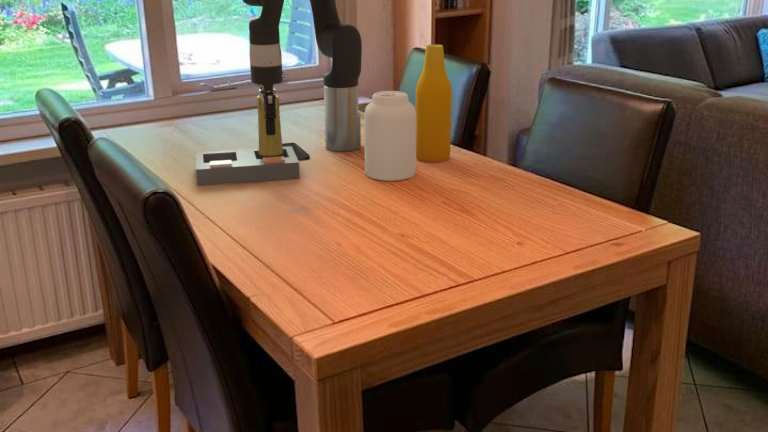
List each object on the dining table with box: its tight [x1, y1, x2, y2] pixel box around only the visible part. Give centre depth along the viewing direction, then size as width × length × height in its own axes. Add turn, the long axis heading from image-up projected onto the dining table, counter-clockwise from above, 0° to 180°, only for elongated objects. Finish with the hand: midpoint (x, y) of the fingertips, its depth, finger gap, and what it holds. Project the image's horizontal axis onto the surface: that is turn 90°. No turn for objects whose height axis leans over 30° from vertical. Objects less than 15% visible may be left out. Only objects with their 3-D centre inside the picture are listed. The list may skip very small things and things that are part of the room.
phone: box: [282, 142, 311, 161], centre depth 205 cm, size 8×1×15 cm
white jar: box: [363, 90, 417, 182], centre depth 184 cm, size 12×12×20 cm
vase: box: [256, 95, 283, 156], centre depth 188 cm, size 6×6×14 cm
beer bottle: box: [415, 44, 453, 164], centre depth 195 cm, size 9×9×29 cm
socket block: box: [195, 146, 301, 187], centre depth 188 cm, size 24×15×5 cm, turn 103°
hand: (269, 131), depth 188 cm, fingers closed on vase, 5 cm apart
